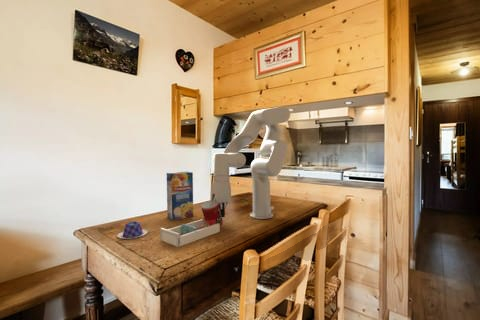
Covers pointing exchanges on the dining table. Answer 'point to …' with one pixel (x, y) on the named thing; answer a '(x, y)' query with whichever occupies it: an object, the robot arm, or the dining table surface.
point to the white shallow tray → (174, 233)
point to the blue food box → (179, 195)
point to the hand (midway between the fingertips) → (221, 216)
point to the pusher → (187, 229)
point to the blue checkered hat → (132, 231)
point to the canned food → (212, 213)
